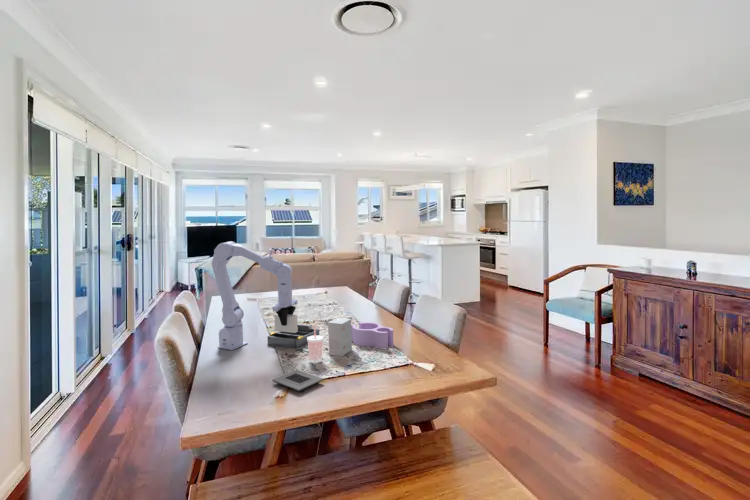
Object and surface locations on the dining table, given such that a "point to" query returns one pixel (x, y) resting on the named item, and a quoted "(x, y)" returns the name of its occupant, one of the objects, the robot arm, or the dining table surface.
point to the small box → (339, 336)
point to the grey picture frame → (297, 380)
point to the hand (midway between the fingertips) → (286, 324)
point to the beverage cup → (315, 347)
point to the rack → (292, 337)
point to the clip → (372, 335)
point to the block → (290, 326)
